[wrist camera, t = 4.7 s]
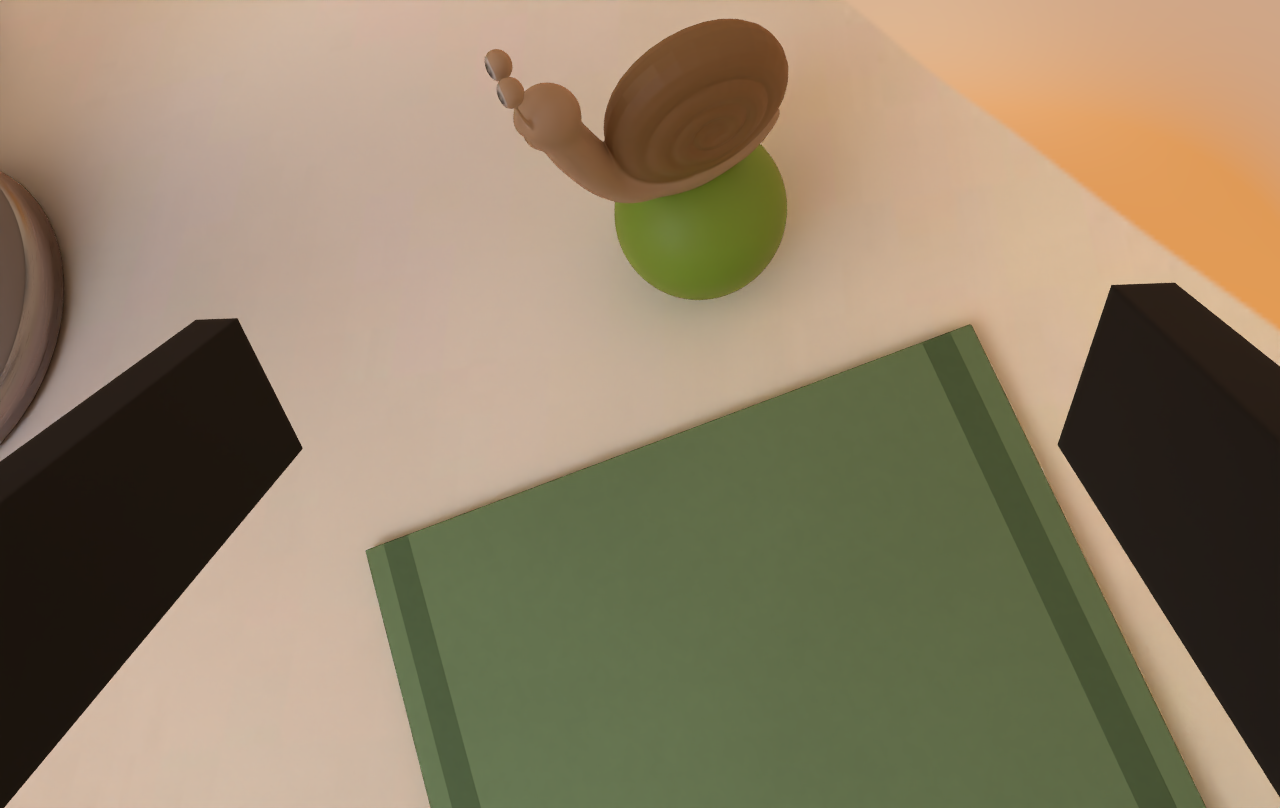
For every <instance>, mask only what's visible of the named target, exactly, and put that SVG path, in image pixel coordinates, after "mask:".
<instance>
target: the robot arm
mask: <svg viewBox="0 0 1280 808" xmlns="http://www.w3.org/2000/svg"><path fill="white" fill-rule="evenodd" d="M63 297H64V280H63V268H62V260H61V255H60V251H59V246H58V243H57V240H56V237H55V234H54V231H53V229H52V227H51V224H50V222H49V220H48V218H47V216H46V215H45V213H44V211H43V210H42V208H41V207H40V205H39V204H38V203H37V201H36V200H35V199H34V198H33V196H32V195H31V194H30V193H29V192H28V191H27V190H26V189H25V188H24V187H23V186H22V185H20V184H19V183H18V182H16V181H15V180H14V179H12V178H11V177H9V176H7V175H6V174H4V173H2V172H0V443H1V442H2V441H3V440H4V439H5V437H6V436H7V435H8V434H9V433H10V432H11V430H12V429H13V428H14V426H15V425H16V424H17V422H18V421H19V420H20V418H21V417H22V415H23V414H24V413H25V411H26V409H27V408H28V406H29V404H30V403H31V401H32V399H33V398H34V396H35V394H36V392H37V390H38V388H39V386H40V384H41V382H42V380H43V378H44V376H45V373H46V371H47V368H48V366H49V364H50V361H51V358H52V355H53V352H54V349H55V346H56V342H57V338H58V333H59V329H60V324H61V317H62V311H63ZM1058 446H1059V448H1060V449H1061V451H1062V453H1063V454H1064V456H1065V457H1066V459H1067V461H1068V462H1069V464H1070V465H1071V467H1072V468H1073V470H1074V472H1075V473H1076V475H1077V476H1078V478H1079V480H1080V481H1081V483H1082V484H1083V486H1084V487H1085V489H1086V491H1087V492H1088V494H1089V495H1090V497H1091V499H1092V500H1093V502H1094V503H1095V505H1096V507H1097V508H1098V510H1099V511H1100V513H1101V514H1102V516H1103V518H1104V519H1105V521H1106V522H1107V524H1108V526H1109V527H1110V529H1111V530H1112V532H1113V533H1114V535H1115V537H1116V538H1117V540H1118V541H1119V543H1120V545H1121V546H1122V548H1123V549H1124V551H1125V553H1126V554H1127V556H1128V557H1129V559H1130V560H1131V562H1132V564H1133V565H1134V567H1135V568H1136V570H1137V572H1138V573H1139V575H1140V576H1141V578H1142V579H1143V581H1144V583H1145V584H1146V586H1147V587H1148V589H1149V591H1150V592H1151V594H1152V595H1153V597H1154V599H1155V600H1156V602H1157V603H1158V605H1159V606H1160V608H1161V610H1162V611H1163V613H1164V614H1165V616H1166V618H1167V619H1168V621H1169V622H1170V624H1171V625H1172V627H1173V629H1174V630H1175V632H1176V633H1177V635H1178V637H1179V638H1180V640H1181V641H1182V643H1183V645H1184V646H1185V648H1186V649H1187V651H1188V652H1189V654H1190V656H1191V657H1192V659H1193V660H1194V662H1195V664H1196V665H1197V667H1198V668H1199V670H1200V671H1201V673H1202V675H1203V676H1204V678H1205V679H1206V681H1207V683H1208V684H1209V686H1210V687H1211V689H1212V691H1213V692H1214V694H1215V695H1216V697H1217V698H1218V700H1219V702H1220V703H1221V705H1222V706H1223V708H1224V710H1225V711H1226V713H1227V714H1228V716H1229V717H1230V719H1231V721H1232V722H1233V724H1234V725H1235V727H1236V729H1237V730H1238V732H1239V733H1240V735H1241V737H1242V738H1243V740H1244V741H1245V743H1246V744H1247V746H1248V748H1249V749H1250V751H1251V752H1252V754H1253V756H1254V757H1255V759H1256V760H1257V762H1258V763H1259V765H1260V767H1261V768H1262V770H1263V771H1264V773H1265V775H1266V776H1267V778H1268V779H1269V781H1270V783H1271V784H1272V786H1273V787H1274V789H1275V790H1276V792H1277V794H1278V795H1279V797H1280V366H1278V365H1277V364H1276V363H1275V362H1273V361H1272V360H1271V359H1270V358H1268V357H1267V356H1266V355H1265V354H1263V353H1262V352H1261V351H1260V350H1258V349H1257V348H1256V347H1255V346H1253V345H1252V344H1251V343H1250V342H1248V341H1247V340H1246V339H1245V338H1243V337H1242V336H1241V335H1240V334H1238V333H1237V332H1236V331H1235V330H1233V329H1232V328H1231V327H1230V326H1228V325H1227V324H1226V323H1225V322H1223V321H1222V320H1221V319H1220V318H1218V317H1217V316H1216V315H1214V314H1213V313H1212V312H1211V311H1209V310H1208V309H1207V308H1206V307H1204V306H1203V305H1202V304H1201V303H1199V302H1198V301H1197V300H1196V299H1194V298H1193V297H1192V296H1191V295H1189V294H1188V293H1187V292H1186V291H1184V290H1183V289H1182V288H1181V287H1179V286H1178V285H1177V284H1176V283H1154V284H1128V285H1111V288H1110V291H1109V294H1108V297H1107V300H1106V303H1105V306H1104V309H1103V312H1102V315H1101V318H1100V321H1099V324H1098V327H1097V329H1096V332H1095V335H1094V338H1093V341H1092V344H1091V347H1090V350H1089V353H1088V356H1087V359H1086V362H1085V365H1084V368H1083V371H1082V374H1081V377H1080V380H1079V383H1078V386H1077V389H1076V392H1075V395H1074V398H1073V401H1072V404H1071V407H1070V409H1069V412H1068V415H1067V418H1066V421H1065V424H1064V427H1063V430H1062V433H1061V436H1060V439H1059V442H1058ZM302 449H303V448H302V446H301V444H300V442H299V440H298V438H297V436H296V434H295V432H294V430H293V428H292V426H291V424H290V422H289V420H288V418H287V416H286V414H285V412H284V410H283V408H282V406H281V404H280V402H279V400H278V398H277V396H276V394H275V392H274V390H273V388H272V386H271V384H270V382H269V380H268V378H267V376H266V374H265V372H264V370H263V368H262V366H261V364H260V362H259V361H258V359H257V357H256V355H255V353H254V351H253V349H252V347H251V345H250V343H249V341H248V339H247V337H246V335H245V333H244V331H243V329H242V327H241V325H240V323H239V321H238V319H237V318H234V319H208V320H195V321H194V322H192V323H191V324H190V325H188V326H187V327H186V328H184V329H183V330H181V331H180V332H179V333H177V334H176V335H175V336H173V337H172V338H170V339H169V340H168V341H166V342H165V343H163V344H162V345H161V346H159V347H158V348H157V349H155V350H154V351H152V352H151V353H150V354H148V355H147V356H146V357H144V358H143V359H141V360H140V361H139V362H137V363H136V364H134V365H133V366H132V367H130V368H129V369H128V370H126V371H125V372H123V373H122V374H121V375H119V376H118V377H117V378H115V379H114V380H112V381H111V382H110V383H108V384H107V385H105V386H104V387H103V388H101V389H100V390H99V391H97V392H96V393H94V394H93V395H92V396H90V397H89V398H88V399H86V400H85V401H83V402H82V403H81V404H79V405H78V406H77V407H75V408H74V409H72V410H71V411H70V412H68V413H67V414H65V415H64V416H63V417H61V418H60V419H59V420H57V421H56V422H54V423H53V424H52V425H50V426H49V427H48V428H46V429H45V430H43V431H42V432H41V433H39V434H38V435H36V436H35V437H34V438H32V439H31V440H30V441H28V442H27V443H25V444H24V445H23V446H21V447H20V448H19V449H17V450H16V451H14V452H13V453H12V454H10V455H9V456H7V457H6V458H5V459H3V460H2V461H1V462H0V808H4V807H5V806H6V805H7V803H8V802H9V801H10V800H11V799H12V797H13V796H14V795H15V794H16V793H17V791H18V790H19V789H20V788H21V787H22V785H23V784H24V783H25V782H26V781H27V779H28V778H29V777H30V776H31V775H32V773H33V772H34V771H35V770H36V769H37V767H38V766H39V765H40V764H41V763H42V761H43V760H44V759H45V758H46V757H47V755H48V754H49V753H50V752H51V751H52V749H53V748H54V747H55V746H56V745H57V743H58V742H59V741H60V740H61V739H62V737H63V736H64V735H65V734H66V733H67V731H68V730H69V729H70V728H71V727H72V725H73V724H74V723H75V722H76V721H77V719H78V718H79V717H80V716H81V715H82V713H83V712H84V711H85V710H86V708H87V707H88V706H89V705H90V704H91V702H92V701H93V700H94V699H95V698H96V696H97V695H98V694H99V693H100V692H101V690H102V689H103V688H104V687H105V686H106V684H107V683H108V682H109V681H110V680H111V678H112V677H113V676H114V675H115V674H116V672H117V671H118V670H119V669H120V668H121V666H122V665H123V664H124V663H125V662H126V660H127V659H128V658H129V657H130V656H131V654H132V653H133V652H134V651H135V650H136V648H137V647H138V646H139V645H140V644H141V642H142V641H143V640H144V639H145V638H146V636H147V635H148V634H149V633H150V632H151V630H152V629H153V628H154V627H155V626H156V624H157V623H158V622H159V621H160V620H161V618H162V617H163V616H164V615H165V614H166V612H167V611H168V610H169V609H170V607H171V606H172V605H173V604H174V603H175V601H176V600H177V599H178V598H179V597H180V595H181V594H182V593H183V592H184V591H185V589H186V588H187V587H188V586H189V585H190V583H191V582H192V581H193V580H194V579H195V577H196V576H197V575H198V574H199V573H200V571H201V570H202V569H203V568H204V567H205V565H206V564H207V563H208V562H209V561H210V559H211V558H212V557H213V556H214V555H215V553H216V552H217V551H218V550H219V549H220V547H221V546H222V545H223V544H224V543H225V541H226V540H227V539H228V538H229V537H230V535H231V534H232V533H233V532H234V531H235V529H236V528H237V527H238V526H239V525H240V523H241V522H242V521H243V520H244V519H245V517H246V516H247V515H248V514H249V513H250V511H251V510H252V509H253V508H254V507H255V505H256V504H257V503H258V502H259V500H260V499H261V498H262V497H263V496H264V494H265V493H266V492H267V491H268V490H269V488H270V487H271V486H272V485H273V484H274V482H275V481H276V480H277V479H278V478H279V476H280V475H281V474H282V473H283V472H284V470H285V469H286V468H287V467H288V466H289V464H290V463H291V462H292V461H293V460H294V458H295V457H296V456H297V455H298V454H299V452H300V451H301V450H302Z"/></svg>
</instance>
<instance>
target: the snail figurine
mask: <svg viewBox="0 0 1280 808" xmlns="http://www.w3.org/2000/svg"><path fill="white" fill-rule="evenodd" d="M485 66H486V69H487V72H488V74H489V75H490V76H491V78H492V79H494V80H496V81H499V83H498V84H497V94H498V97H499V99H500V101H501V103H502V104H503V105H504V106H505V107H506V108H510V109H513V108H514V116H513V119H514V125H515V128H516V130H517V131H518V133H519V134H521V135H522V136H523V137H524V138H525V140H526V142H527V143H528V144H529V145H530V146H531V147H532V148H534V149H537V150H540V151H543V152H545V153H546V154H547V156H548V157H549V158H550V159H551V160H552V161H553V163H554V164H555V165H556V166H557V167H558V168H559V169H560V170H562V171H563V172H564V173H565V174H566V175H567V176H569V177H570V178H571V179H572V180H574V181H575V182H576V183H577V184H579V185H580V186H581V187H583V188H584V189H586V190H588V191H589V192H591V193H593V194H595V195H597V196H599V197H602V198H605V199H608V200H611V201H615V226H616V232H617V236H618V239H619V242H620V245H621V248H622V250H623V252H624V254H625V256H626V258H627V259H628V261H629V263H630V264H631V265H632V267H633V268H634V269H635V270H636V272H637V273H638V274H639V275H640V276H641V277H642V278H643V279H644V280H646V281H647V282H648V283H649V284H651V285H652V286H654V287H655V288H657V289H659V290H661V291H663V292H665V293H667V294H670V295H672V296H676V297H679V298H684V299H692V300H705V299H713V298H718V297H722V296H725V295H728V294H730V293H733V292H735V291H737V290H739V289H741V288H742V287H744V286H746V285H747V284H748V283H750V282H751V281H752V280H754V279H755V278H756V277H757V276H758V275H759V274H760V273H761V272H762V271H763V270H764V269H765V268H766V266H767V265H768V264H769V262H770V261H771V259H772V258H773V256H774V255H775V253H776V251H777V249H778V247H779V245H780V242H781V239H782V236H783V233H784V229H785V224H786V217H787V199H786V192H785V187H784V183H783V180H782V177H781V174H780V172H779V170H778V168H777V166H776V164H775V162H774V161H773V159H772V157H771V156H770V155H769V153H768V152H767V151H766V150H765V149H764V147H763V146H762V145H761V144H760V143H761V142H762V141H763V140H764V139H765V137H766V136H767V135H768V133H769V132H770V131H771V129H772V128H773V126H774V125H775V123H776V121H777V119H778V117H779V106H780V104H781V102H782V100H783V98H784V95H785V91H786V87H787V82H788V63H787V60H786V56H785V53H784V50H783V48H782V46H781V44H780V43H779V42H778V40H777V39H776V38H775V37H774V36H773V35H772V34H771V33H770V32H769V31H768V30H766V29H765V28H763V27H761V26H760V25H758V24H755V23H752V22H748V21H744V20H739V19H718V20H712V21H707V22H702V23H699V24H696V25H693V26H691V27H688V28H685V29H683V30H681V31H679V32H677V33H675V34H673V35H671V36H669V37H667V38H665V39H664V40H662V41H661V42H659V43H658V44H656V45H655V46H654V47H652V48H651V49H649V50H648V51H647V52H646V53H645V54H643V55H642V56H641V57H640V58H639V59H638V60H637V61H636V62H635V63H634V64H633V65H632V66H631V67H630V68H629V69H628V71H627V72H626V73H625V74H624V75H623V76H622V78H621V79H620V81H619V82H618V84H617V86H616V87H615V89H614V91H613V92H612V94H611V97H610V100H609V103H608V105H607V108H606V112H605V118H604V136H605V141H604V142H602V141H601V140H600V139H599V138H597V137H596V136H595V135H594V134H593V133H592V132H591V131H590V130H589V129H588V128H587V127H586V126H585V125H584V124H583V123H582V122H581V110H580V106H579V103H578V101H577V99H576V98H575V96H574V95H573V94H572V93H571V92H570V91H569V90H568V89H566V88H565V87H563V86H561V85H558V84H554V83H540V84H536V85H534V86H532V87H530V88H528V89H527V90H526V91H525V92H524V88H523V86H522V84H521V83H520V82H519V81H518V80H517V79H515V78H512V77H509V76H510V74H511V72H512V62H511V59H510V57H509V56H508V54H507V53H505V52H504V51H502V50H499V49H494V50H491V51H489V52H488V53H487V55H486V57H485Z"/></svg>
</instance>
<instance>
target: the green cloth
mask: <svg viewBox="0 0 1280 808" xmlns="http://www.w3.org/2000/svg"><path fill="white" fill-rule="evenodd" d="M366 554H367V558H368V562H369V566H370V570H371V574H372V578H373V582H374V586H375V590H376V594H377V598H378V602H379V606H380V610H381V614H382V618H383V622H384V626H385V629H386V633H387V637H388V641H389V645H390V649H391V653H392V657H393V661H394V665H395V669H396V673H397V677H398V681H399V685H400V689H401V693H402V697H403V701H404V704H405V708H406V712H407V716H408V720H409V724H410V728H411V732H412V736H413V740H414V744H415V748H416V752H417V756H418V760H419V764H420V768H421V772H422V776H423V779H424V783H425V787H426V791H427V795H428V799H429V803H430V807H431V808H1206V806H1205V804H1204V802H1203V800H1202V798H1201V796H1200V794H1199V792H1198V790H1197V788H1196V786H1195V784H1194V782H1193V780H1192V778H1191V776H1190V773H1189V771H1188V769H1187V767H1186V765H1185V763H1184V761H1183V759H1182V757H1181V755H1180V753H1179V751H1178V749H1177V747H1176V745H1175V743H1174V741H1173V738H1172V736H1171V734H1170V732H1169V730H1168V728H1167V726H1166V724H1165V722H1164V720H1163V718H1162V716H1161V714H1160V712H1159V710H1158V708H1157V706H1156V704H1155V701H1154V699H1153V697H1152V695H1151V693H1150V691H1149V689H1148V687H1147V685H1146V683H1145V681H1144V679H1143V677H1142V675H1141V673H1140V671H1139V669H1138V667H1137V664H1136V662H1135V660H1134V658H1133V656H1132V654H1131V652H1130V650H1129V648H1128V646H1127V644H1126V642H1125V640H1124V638H1123V636H1122V634H1121V632H1120V630H1119V627H1118V625H1117V623H1116V621H1115V619H1114V617H1113V615H1112V613H1111V611H1110V609H1109V607H1108V605H1107V603H1106V601H1105V599H1104V597H1103V595H1102V592H1101V590H1100V588H1099V586H1098V584H1097V582H1096V580H1095V578H1094V576H1093V574H1092V572H1091V570H1090V568H1089V566H1088V564H1087V562H1086V560H1085V558H1084V555H1083V553H1082V551H1081V549H1080V547H1079V545H1078V543H1077V541H1076V539H1075V537H1074V535H1073V533H1072V531H1071V529H1070V527H1069V525H1068V523H1067V521H1066V518H1065V516H1064V514H1063V512H1062V510H1061V508H1060V506H1059V504H1058V502H1057V500H1056V498H1055V496H1054V494H1053V492H1052V490H1051V488H1050V486H1049V483H1048V481H1047V479H1046V477H1045V475H1044V473H1043V471H1042V469H1041V467H1040V465H1039V463H1038V461H1037V459H1036V457H1035V455H1034V453H1033V451H1032V449H1031V446H1030V444H1029V442H1028V440H1027V438H1026V436H1025V434H1024V432H1023V430H1022V428H1021V426H1020V424H1019V422H1018V420H1017V418H1016V416H1015V414H1014V412H1013V409H1012V407H1011V405H1010V403H1009V401H1008V399H1007V397H1006V395H1005V393H1004V391H1003V389H1002V387H1001V385H1000V383H999V381H998V379H997V377H996V374H995V372H994V370H993V368H992V366H991V364H990V362H989V360H988V358H987V356H986V354H985V352H984V350H983V348H982V346H981V344H980V342H979V340H978V337H977V335H976V333H975V331H974V329H973V327H972V325H967V326H964V327H962V328H959V329H956V330H954V331H951V332H948V333H946V334H943V335H940V336H938V337H935V338H932V339H929V340H927V341H924V342H922V343H919V344H916V345H914V346H911V347H908V348H906V349H903V350H900V351H898V352H895V353H892V354H889V355H887V356H884V357H881V358H879V359H876V360H873V361H871V362H868V363H865V364H863V365H860V366H857V367H855V368H852V369H849V370H847V371H844V372H841V373H839V374H836V375H833V376H831V377H828V378H825V379H823V380H820V381H817V382H815V383H812V384H809V385H807V386H804V387H801V388H799V389H796V390H793V391H791V392H788V393H785V394H783V395H780V396H777V397H775V398H772V399H769V400H767V401H764V402H761V403H759V404H756V405H753V406H750V407H748V408H745V409H742V410H740V411H737V412H734V413H732V414H729V415H726V416H724V417H721V418H718V419H716V420H713V421H710V422H708V423H705V424H702V425H700V426H697V427H694V428H692V429H689V430H686V431H684V432H681V433H678V434H676V435H673V436H670V437H668V438H665V439H662V440H660V441H657V442H654V443H652V444H649V445H646V446H644V447H641V448H638V449H636V450H633V451H630V452H628V453H625V454H622V455H620V456H617V457H614V458H611V459H609V460H606V461H603V462H601V463H598V464H595V465H593V466H590V467H587V468H585V469H582V470H579V471H577V472H574V473H571V474H569V475H566V476H563V477H561V478H558V479H555V480H553V481H550V482H547V483H545V484H542V485H539V486H537V487H534V488H531V489H529V490H526V491H523V492H521V493H518V494H515V495H513V496H510V497H507V498H505V499H502V500H499V501H497V502H494V503H491V504H489V505H486V506H483V507H481V508H478V509H475V510H472V511H470V512H467V513H464V514H462V515H459V516H456V517H454V518H451V519H448V520H446V521H443V522H440V523H438V524H435V525H432V526H430V527H427V528H424V529H422V530H419V531H416V532H414V533H411V534H408V535H406V536H403V537H400V538H398V539H395V540H392V541H390V542H387V543H384V544H382V545H379V546H376V547H374V548H371V549H368V550H366Z"/></svg>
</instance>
